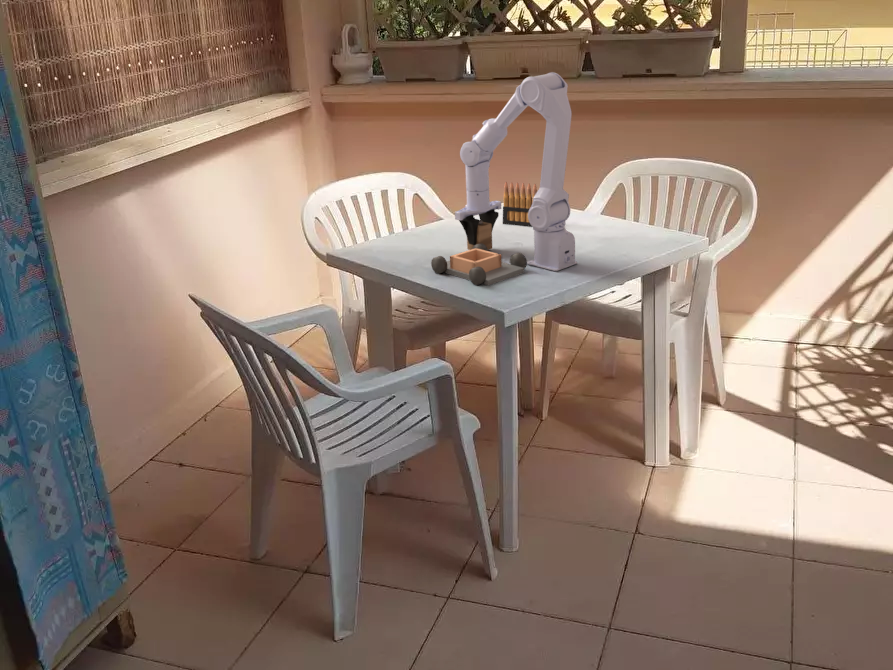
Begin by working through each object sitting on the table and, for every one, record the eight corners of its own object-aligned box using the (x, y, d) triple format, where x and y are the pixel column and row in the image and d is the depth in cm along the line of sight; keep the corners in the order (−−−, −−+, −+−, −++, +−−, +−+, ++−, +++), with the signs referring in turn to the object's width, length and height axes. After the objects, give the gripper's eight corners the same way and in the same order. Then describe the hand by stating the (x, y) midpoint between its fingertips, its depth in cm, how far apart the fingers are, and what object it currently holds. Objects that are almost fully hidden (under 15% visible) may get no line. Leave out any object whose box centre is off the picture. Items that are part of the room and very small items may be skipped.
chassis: (528, 271, 209) (528, 254, 207) (482, 287, 199) (482, 269, 198) (475, 256, 221) (475, 240, 219) (430, 271, 212) (429, 254, 210)
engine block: (492, 248, 225) (491, 220, 223) (479, 252, 223) (478, 224, 220) (480, 245, 229) (479, 217, 226) (467, 249, 226) (466, 221, 223)
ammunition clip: (502, 224, 249) (501, 182, 245) (505, 222, 251) (504, 180, 246) (537, 227, 244) (536, 184, 240) (539, 225, 246) (539, 183, 241)
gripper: (487, 182, 227) (488, 233, 232) (445, 192, 218) (448, 245, 223) (506, 185, 222) (508, 237, 227) (465, 196, 213) (467, 250, 218)
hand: (479, 241), depth 225 cm, fingers closed on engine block, 4 cm apart
